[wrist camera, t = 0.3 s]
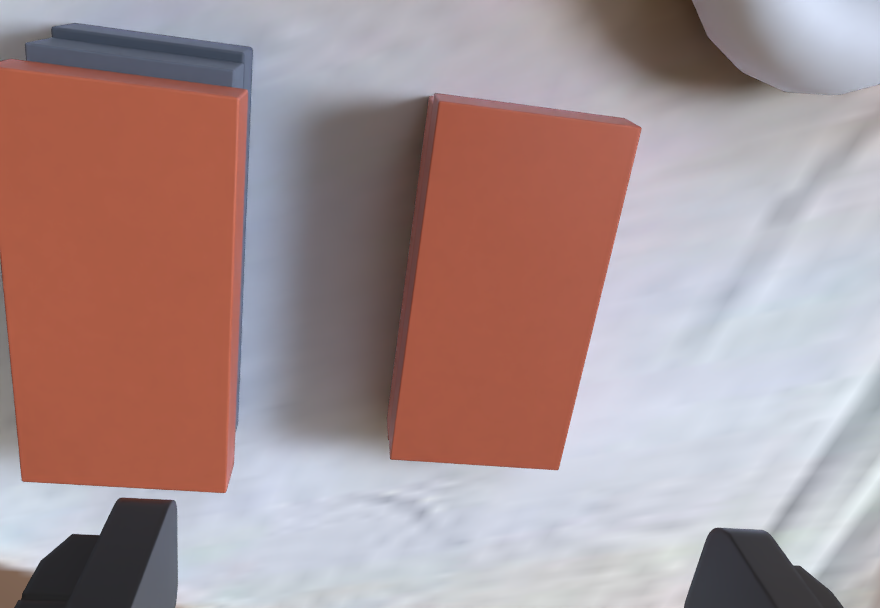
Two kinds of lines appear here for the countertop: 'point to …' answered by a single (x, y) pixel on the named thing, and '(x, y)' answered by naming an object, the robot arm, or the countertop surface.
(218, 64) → the grey rectangular block
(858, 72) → the donut
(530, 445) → the orange-red flat block
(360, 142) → the countertop surface
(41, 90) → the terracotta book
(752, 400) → the countertop surface
